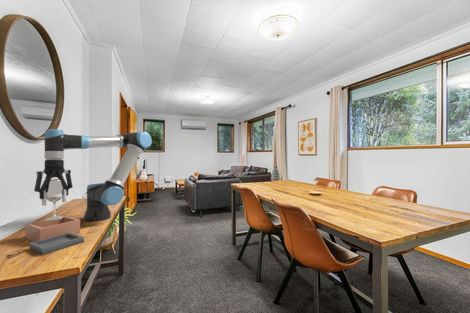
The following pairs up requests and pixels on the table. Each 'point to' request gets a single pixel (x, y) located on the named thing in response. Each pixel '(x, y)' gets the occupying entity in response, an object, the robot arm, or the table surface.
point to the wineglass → (54, 195)
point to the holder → (51, 228)
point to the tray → (56, 243)
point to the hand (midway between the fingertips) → (54, 203)
